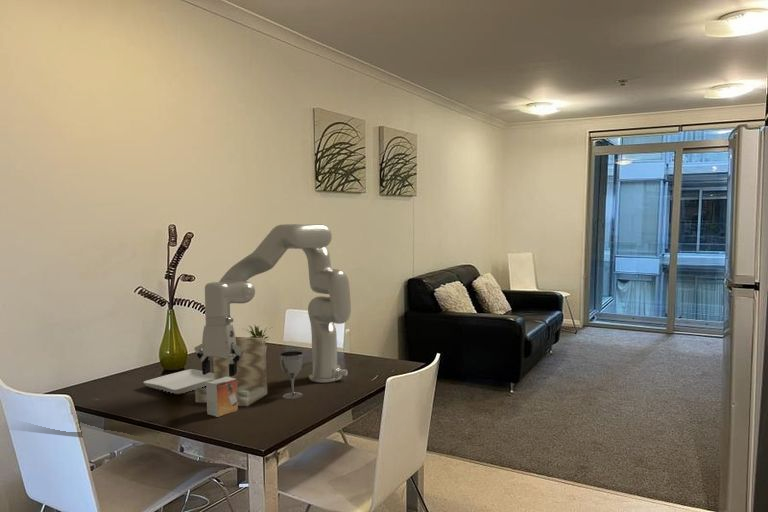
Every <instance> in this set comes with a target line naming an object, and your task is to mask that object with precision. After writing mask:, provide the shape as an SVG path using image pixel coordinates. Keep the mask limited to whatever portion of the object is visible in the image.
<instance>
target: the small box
mask: <svg viewBox="0 0 768 512" xmlns="http://www.w3.org/2000/svg"><path fill="white" fill-rule="evenodd" d="M205 388H206V393H207V403H206V411H207V413H206V414H207V415H209V416H212V417H215V418H216V417H217V418H219V417H221V416H225V415H227V414H231V413H235V412H237V411H238V410H239V409H238V408H239V407H238V403H237V379H235V378H231V377H227V376H226V377H223V378H220V379H217V380H213V381H210V382H206V387H205Z"/></svg>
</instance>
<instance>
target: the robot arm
mask: <svg viewBox="0 0 768 512" xmlns="http://www.w3.org/2000/svg"><path fill="white" fill-rule="evenodd" d="M332 237H333V234H332V231H331V229H330V228H329V226H326V225H325V224H299V223H298V224H297V223H295V224H292V223H291V224H290V223H289V224H288V223H286V224H278V225H276V226H275V227H273V228H272V229H271V230H270V232H269V233H268V234H267V235H266V236H265V237H264V239H263V240H262V241H261V242H260V244H259V245H257V247H256V248H255V250H253V252H252V253H250V254H248V255H247V256H245V257H243V258H242V259H241V260H239V261H238V262H236V263H235V264H234V265H233V266H231V267H230V268H229V269H228V270H227V271H226V272H225V274H224V275H223V276H222V277H221V278H220V280H219V281H213V282H208V283H206V285H205V286H204V307H205V310H204V312H205V313H204V314H205V316H204V317H205V325H204V326H203V332H202V340H201V341H202V342H201V344H199V345H197V346H195V347H194V348H193V349H194V351H195V353H196V356H197V358H198V359H199V362H201V371H203V375H205V374H207V373H211V361H210V359H209V358H213V357H219V358H227V359H228V360H229V362H230V363H231V364H229V376H230V377H232V376H234V375H236V372H237V362H238V360H239V359H240V358H241V357H242V354H243V352H244V350H243V349H242V348H240V347H239V346H237V345H236V338H235V337H236V332H235V328H234V325H233V324H231V323H234V318H232V317H231V304H247V303H249V302H250V301H252V300H253V298H254V297H255V295H256V289H255V286H254V284H252V283H251V282H249V281H248V280H249V279H251V278H253V277H255V276H257V275H260V274H263V273H266V272H269V271H270V270H272V269H273V268H274V267H275V266H276V264H278V262H279V261H280V259H281V258H282V257H283V256H284V254H285V253H286V252H287V250H289V249H291V250H292V249H294V250H295V249H296V250H297V249H298V250H302V251H303V253H304V254H305V257H306V259H307V267H308V279H309V286H310V287H309V288H310V289H311V290H312V292H314V293H317V294H321V295H322V294H323V295H322V296H321V295H319V296H316V297H314V298H312V299H311V300H310V301H309V303H308V306H307V314H308V319H309V323H310V330H311V354H312V355H311V357H312V373H310V374H309V375H308V379H309V381H311V382H313V383H320V384H321V383H331V382H333V383H334V382H336V381H338V380H339V381H340V380H341V379H342V377H345V376H348V370H347V369H345V368H341V365H340V364H338V345H337V341H338V338H337V336H338V335H337V329H336V326H335V324H339V325H341V324H344V323H346V322H348V320H349V319H350V317H351V314H352V313H351V311H352V304H351V303H352V302H351V291H350V281H349V278H348V275H347V274H346V273H345V271H343V270H341V269H339V268H332V264H331V256H330V252H329V250H328V248H327V246H328V245H329V244H331V241H332ZM324 295H329V296H324ZM236 352H237V356H235V354H236Z"/></svg>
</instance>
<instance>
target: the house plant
mask: <svg viewBox="0 0 768 512" xmlns="http://www.w3.org/2000/svg"><path fill="white" fill-rule="evenodd" d="M247 326H248V327H249V328H250V330H249V329H247V332H248V333H247V334H249V335H250V337H253V338H265V352H266V353H267V348H268V347H267V344H266V342H267V341H268V339H269V336H267V334H266V332H267V331H266V330H267V328H265V329H264V331H263V329H261V330H260V325H259V326H258V325H257V326H256V325H254V329H253V327H252V325H249V324H247ZM271 328H273V326H272V327H270V329H271ZM241 329H244V330H242V331H245V332H246V329H245V328H243V327H242V328H241Z"/></svg>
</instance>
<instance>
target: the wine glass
mask: <svg viewBox="0 0 768 512" xmlns="http://www.w3.org/2000/svg"><path fill="white" fill-rule="evenodd" d="M279 362H280V367H281V370H282V372H284V374H285V375H286V376H287V377H288V378H289V380H290V381H289V382H290V384H291V386H290V387H291V392H287V393H285V394H283V395H282V398H283V399H286V400H296V399H300V398H302V397H304V394H303V393H302V392H297V391H296V392H295V380H296V379H295V378H296V377H297V376H298V374H299V373H300V372H301V370H302V368H303V363H304V352H303V351H302V350H285V351H283V352H280V353H279Z"/></svg>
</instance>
